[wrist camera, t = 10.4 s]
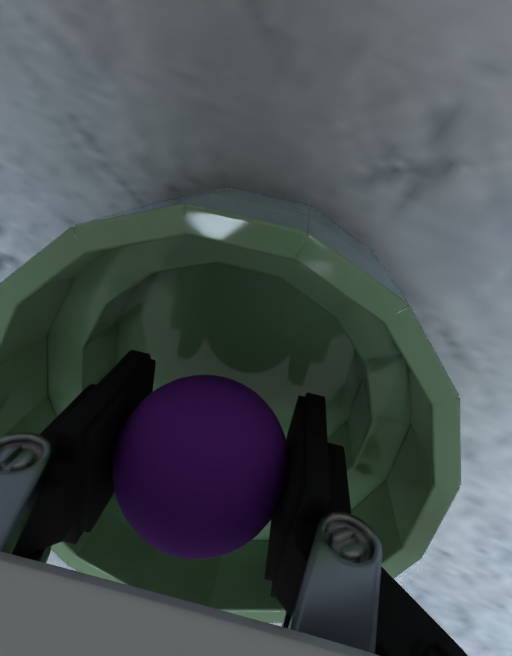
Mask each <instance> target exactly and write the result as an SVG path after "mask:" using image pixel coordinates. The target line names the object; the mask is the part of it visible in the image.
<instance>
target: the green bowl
mask: <svg viewBox="0 0 512 656" xmlns="http://www.w3.org/2000/svg"><path fill="white" fill-rule="evenodd" d="M130 350H136V351H140V352H144V353H148V354H150V356H151V359H153V360H155V361H156V366H155V374H154V383H153V391H155V390H156V389H158V388H159V387H161V386H163V385H165V384H167V383H169V382H171V381H173V380H176V379H179V378H183V377H188V376H194V375H216V376H221V377H226V378H229V379H232V380H235V381H237V382H239V383H242V384H243V385H245V386H247V387H249V388H250V389H252V390H253V391H254V392H256V393H257V394H258V395H259V396H260V397H261V398H262V399H263V400H264V401H265V402H266V403H267V404H268V405H269V407H270V408H271V409H272V410H273V412H274V413H275V415H276V417H277V418H278V420H279V423H280V425H281V427H282V429H283V431H284V435H285V438H286V437H287V434H288V430H289V427H290V423H291V420H292V416H293V413H294V409H295V406H296V402H297V399H298V396H299V395H300V396H304V397H305V395H306V393H307V392H308V393H312V394H316V395H320V396H324V397H325V402H326V421H327V440H328V443H332V444H336V445H340V446H343V447H344V451H345V460H346V469H347V478H348V487H349V496H350V505H351V514H352V515H354V516H356V517H358V518H360V519H362V520H363V521H364V522H366V523H367V524H368V525H369V526H370V527H371V528H372V529H373V530H374V532H375V533H376V534H377V536H378V538H379V540H380V543H381V546H382V564H381V566H382V567H383V568H384V569H385V570H386V572H387V573H388V574H389V575H390V576H391V577H392V578H393V579H394V578H395V577H396V576H398V575H399V574H400V573H402V572H403V571H404V570H406V569H407V568H409V567H410V566H411V565H413V564H414V563H415V562H417V561H418V560H419V559H421V558H422V555H424V553H425V552H426V550H427V548H428V546H429V544H430V542H431V540H432V539H433V537H434V535H435V533H436V531H437V529H438V528H439V526H440V524H441V522H442V520H443V518H444V516H445V515H446V513H447V511H448V509H449V507H450V505H451V503H452V502H453V500H454V498H455V496H456V494H457V492H458V491H459V488H460V485H461V445H460V398H459V395H458V392H457V390H456V389H455V387H454V385H453V383H452V381H451V380H450V378H449V376H448V374H447V372H446V371H445V369H444V367H443V365H442V363H441V362H440V360H439V358H438V356H437V354H436V353H435V351H434V349H433V347H432V345H431V344H430V342H429V340H428V338H427V336H426V335H425V333H424V331H423V329H422V327H421V326H420V324H419V322H418V320H417V318H416V317H415V315H414V313H413V311H412V309H411V308H410V306H409V304H408V303H407V301H406V300H405V298H404V297H403V295H402V294H401V292H400V291H399V289H398V288H397V286H396V285H395V283H394V282H393V280H392V279H391V277H390V276H389V274H388V273H387V271H386V270H385V268H384V267H383V265H382V264H381V262H380V261H379V259H378V258H377V256H376V255H375V254H374V253H373V251H372V250H370V249H369V248H368V247H366V246H365V245H363V244H362V243H361V242H359V241H358V240H357V239H355V238H354V237H353V236H351V235H350V234H348V233H347V232H346V231H344V230H343V229H342V228H340V227H339V226H338V225H336V224H335V223H333V222H332V221H331V220H329V219H328V218H327V217H325V216H324V215H323V214H321V213H320V212H318V211H317V210H316V209H314V208H313V207H312V206H308V205H307V204H302V203H298V202H293V201H289V200H285V199H280V198H276V197H271V196H267V195H262V194H258V193H253V192H249V191H245V190H240V189H236V188H224V189H219V190H214V191H209V192H204V193H200V194H195V195H190V196H185V197H180V198H175V199H170V200H165V201H160V202H155V203H152V204H148V205H145V206H141V207H137V208H134V209H130V210H127V211H123V212H119V213H116V214H112V215H109V216H105V217H101V218H98V219H94V220H91V221H87V222H83V223H80V224H76V225H75V226H73V227H70V228H69V229H67V230H66V231H65V232H64V233H62V234H61V235H60V236H59V237H57V238H56V239H55V240H54V241H52V242H51V243H50V244H49V245H47V246H46V247H45V248H44V249H42V250H41V251H40V252H38V253H37V254H36V255H35V256H33V257H32V258H31V259H30V260H28V261H27V262H26V263H25V264H23V265H22V266H21V267H20V268H18V269H17V270H16V271H15V272H13V273H12V274H11V275H10V276H8V277H7V278H6V279H5V280H3V281H2V282H1V283H0V437H2V436H5V435H8V434H13V433H19V432H30V433H35V434H40V433H41V432H42V431H43V430H44V429H45V428H46V427H47V426H48V425H49V424H50V423H51V422H52V421H53V420H54V419H55V418H56V417H57V416H58V415H59V414H60V413H61V412H62V411H63V410H64V409H65V408H66V407H67V406H68V405H69V404H70V403H71V402H72V401H73V400H74V399H75V398H76V397H77V396H78V395H79V394H80V393H81V392H82V391H83V390H84V389H85V388H86V387H88V386H89V385H90V384H95V385H97V384H98V383H99V382H100V381H101V380H102V379H103V378H104V377H105V376H106V375H107V374H108V373H109V372H110V371H111V370H112V369H113V368H114V367H115V366H116V365H117V364H118V363H119V361H120V360H121V359H122V358H123V357H124V356H125V355H126V354H127V353H128V352H129V351H130ZM270 526H271V520H270V522H269V523H268V524H267V525H266V526H265V527H264V528H263V530H262V531H261V532H260V533H259V534H258V535H257V536H256V537H254V538H253V539H252V540H251V541H249V542H248V543H247V544H245V545H244V546H242V547H240V548H238V549H236V550H234V551H232V552H230V553H227V554H225V555H222V556H218V557H213V558H206V559H186V558H180V557H176V556H173V555H169V554H167V553H164V552H162V551H160V550H158V549H156V548H154V547H153V546H151V545H150V544H148V543H147V542H146V541H145V540H143V539H142V538H141V537H140V536H139V535H138V534H137V533H136V532H135V531H134V529H133V528H132V527H131V526H130V525H129V523H128V522H127V520H126V519H125V517H124V515H123V513H122V511H121V509H120V506H119V504H118V501H117V498H116V494H115V492H114V494H113V495H112V497H111V499H110V501H109V502H108V504H107V506H106V507H105V509H104V511H103V512H102V514H101V516H100V517H99V519H98V521H97V522H96V524H95V526H94V527H93V529H92V530H91V531H90V532H89V533H87V532H83V533H82V535H81V537H80V538H79V540H78V542H77V543H76V545H74V544H71V543H67V542H63V541H62V542H59V543H57V544H54V545H52V547H51V550H52V551H53V552H54V553H55V554H56V555H57V556H58V557H59V558H60V559H61V560H63V561H64V562H65V563H67V565H68V566H70V567H72V568H73V569H75V570H77V571H79V572H81V573H84V574H88V575H92V576H96V577H99V578H103V579H107V580H111V581H114V582H118V583H122V584H126V585H129V586H133V587H137V588H141V589H144V590H148V591H152V592H156V593H159V594H163V595H167V596H170V597H174V598H178V599H182V600H185V601H189V602H193V603H196V604H200V605H204V606H207V607H211V608H215V609H218V610H222V611H226V612H229V613H233V614H236V615H240V616H244V617H247V618H251V619H255V620H258V621H262V622H266V623H283V620H284V617H285V614H286V611H285V610H284V608H283V607H282V605H281V604H280V603H279V601H278V600H277V598H274V597H271V586H272V581H269V580H266V579H265V569H266V561H267V552H268V543H269V534H270Z"/></svg>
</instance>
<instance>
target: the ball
mask: <svg viewBox="0 0 512 656" xmlns="http://www.w3.org/2000/svg"><path fill="white" fill-rule="evenodd" d="M288 463H289V455H288V447H287V442H286V438H285V435H284V431H283V429H282V427H281V425H280V423H279V420H278V418H277V417H276V415H275V413H274V412H273V410H272V409H271V408H270V407H269V405H268V404H267V403H266V402H265V401H264V400H263V399H262V398H261V397H260V396H259V395H258V394H257V393H256V392H254V391H253V390H252V389H250V388H249V387H247V386H245V385H243V384H242V383H239V382H237V381H235V380H232V379H229V378H226V377H221V376H216V375H194V376H188V377H183V378H179V379H176V380H173V381H171V382H169V383H167V384H165V385H163V386H161V387H159V388H158V389H156V390H155V391H153V392H152V393H150V394H149V395H148V396H147V397H146V398H144V399H143V400H142V401H141V402H140V403H139V404H138V406H137V407H136V408H135V409H134V410H133V412H132V413H131V414H130V415H129V417H128V419H127V421H126V422H125V424H124V426H123V428H122V430H121V432H120V435H119V438H118V440H117V443H116V446H115V452H114V458H113V485H114V490H115V494H116V498H117V501H118V504H119V506H120V509H121V511H122V513H123V515H124V517H125V519H126V520H127V522H128V523H129V525H130V526H131V527H132V528H133V529H134V531H135V532H136V533H137V534H138V535H139V536H140V537H141V538H142V539H143V540H145V541H146V542H147V543H148V544H150V545H151V546H153V547H154V548H156V549H158V550H160V551H162V552H164V553H167V554H169V555H173V556H176V557H180V558H186V559H206V558H213V557H218V556H222V555H225V554H227V553H230V552H232V551H234V550H236V549H238V548H240V547H242V546H244V545H245V544H247V543H248V542H249V541H251V540H252V539H253V538H254V537H256V536H257V535H258V534H259V533H260V532H261V531H262V530H263V528H264V527H265V526H266V525H267V524H268V523H269V522H270V520H271V519H272V517H273V515H274V514H275V512H276V510H277V509H278V507H279V504H280V502H281V499H282V495H283V491H284V487H285V482H286V477H287V471H288Z"/></svg>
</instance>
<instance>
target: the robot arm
mask: <svg viewBox="0 0 512 656" xmlns="http://www.w3.org/2000/svg"><path fill="white" fill-rule="evenodd" d="M155 366H156V361H155V360H153V359H151V356H150V354H148V353H144V352H140V351H136V350H130V351H129V352H128V353H127V354H126V355H125V356H124V357H123V358H122V359H121V360H120V361H119V363H118V364H117V365H116V366H115V367H114V368H113V369H112V370H111V371H110V372H109V373H108V374H107V375H106V376H105V377H104V378H103V379H102V380H101V381H100V382H99V383H98V384H97V385H95V384H90V385H89V386H88V387H86V388H85V389H84V390H83V391H82V392H81V393H80V394H79V395H78V396H77V397H76V398H75V399H74V400H73V401H72V402H71V403H70V404H69V405H68V406H67V407H66V408H65V409H64V410H63V411H62V412H61V413H60V414H59V415H58V416H57V417H56V418H55V419H54V420H53V421H52V422H51V423H50V424H49V425H48V426H47V427H46V428H45V429H44V430H43V431H42V432H41V433H40V434H35V433H30V432H19V433H13V434H8V435H5V436H2V437H0V656H467V655H466V653H465V652H464V651H463V650H462V649H461V648H460V647H459V645H458V644H457V643H456V642H455V641H454V640H453V639H452V638H451V637H450V636H449V635H448V634H447V633H446V632H445V631H444V630H443V629H442V628H441V627H440V626H439V625H438V624H437V623H436V622H435V621H434V620H433V619H432V618H431V617H430V616H429V615H428V614H427V613H426V612H425V611H424V610H423V608H422V607H421V606H420V605H419V604H418V603H417V602H416V601H415V600H414V599H413V598H412V597H411V596H410V595H409V594H408V593H407V592H406V591H405V590H404V589H403V588H402V587H401V586H400V585H399V584H398V583H397V582H396V581H395V580H394V579H393V578H392V577H391V576H390V575H389V574H388V573H387V572H386V570H385V569H384V568H383V567H382V566H381V564H382V546H381V543H380V540H379V538H378V536H377V534H376V533H375V532H374V530H373V529H372V528H371V527H370V526H369V525H368V524H367V523H366V522H364V521H363V520H362V519H360V518H358V517H356V516H354V515H352V514H351V505H350V496H349V487H348V478H347V469H346V460H345V451H344V447H343V446H340V445H336V444H332V443H328V440H327V421H326V402H325V397H324V396H320V395H316V394H312V393H308V392H307V393H306V395H305V397H304V396H300V395H299V396H298V399H297V402H296V406H295V409H294V413H293V416H292V420H291V423H290V427H289V430H288V434H287V437H286V442H287V447H288V455H289V463H288V471H287V477H286V482H285V487H284V491H283V495H282V499H281V502H280V504H279V507H278V509H277V510H276V512H275V514H274V515H273V517H272V519H271V526H270V534H269V543H268V552H267V561H266V569H265V579H266V580H269V581H272V586H271V597H274V598H277V600H278V601H279V603H280V604H281V605H282V607H283V608H284V610H285V611H286V614H285V617H284V620H283V624H282V627H280V626H277V625H273V624H269V623H266V622H262V621H258V620H255V619H251V618H247V617H244V616H240V615H236V614H233V613H229V612H226V611H222V610H218V609H215V608H211V607H207V606H204V605H200V604H196V603H193V602H189V601H185V600H182V599H178V598H174V597H170V596H167V595H163V594H159V593H156V592H152V591H148V590H144V589H141V588H137V587H133V586H129V585H126V584H122V583H118V582H114V581H111V580H107V579H103V578H99V577H96V576H92V575H88V574H84V573H81V572H77V571H73V570H69V569H66V568H62V567H58V566H54V565H50V564H47V563H46V562H47V559H48V557H49V554H50V551H51V547H52V545H54V544H57V543H59V542H62V541H63V542H67V543H71V544H74V545H76V543H77V542H78V540H79V538H80V537H81V535H82V533H83V532H87V533H89V532H90V531H91V530H92V529H93V527H94V526H95V524H96V522H97V521H98V519H99V517H100V516H101V514H102V512H103V511H104V509H105V507H106V506H107V504H108V502H109V501H110V499H111V497H112V495H113V494H114V492H115V490H114V485H113V458H114V452H115V446H116V443H117V440H118V438H119V435H120V432H121V430H122V428H123V426H124V424H125V422H126V421H127V419H128V417H129V415H130V414H131V413H132V412H133V410H134V409H135V408H136V407H137V406H138V404H139V403H140V402H141V401H142V400H143V399H144V398H146V397H147V396H148V395H149V394H150V393H152V392H153V383H154V374H155Z"/></svg>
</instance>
